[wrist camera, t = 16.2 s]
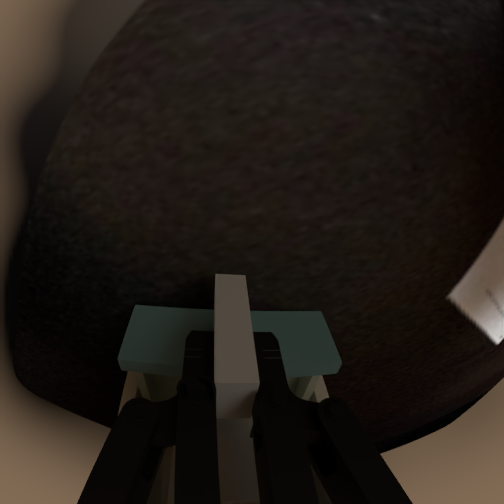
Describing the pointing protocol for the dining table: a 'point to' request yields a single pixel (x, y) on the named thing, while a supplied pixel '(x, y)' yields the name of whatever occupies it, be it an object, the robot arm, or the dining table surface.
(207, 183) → the dining table surface
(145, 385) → the teal drawer
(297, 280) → the dining table surface
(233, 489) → the cup
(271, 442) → the robot arm
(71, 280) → the dining table surface
